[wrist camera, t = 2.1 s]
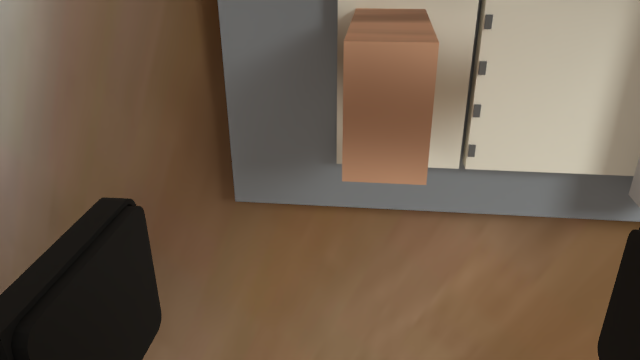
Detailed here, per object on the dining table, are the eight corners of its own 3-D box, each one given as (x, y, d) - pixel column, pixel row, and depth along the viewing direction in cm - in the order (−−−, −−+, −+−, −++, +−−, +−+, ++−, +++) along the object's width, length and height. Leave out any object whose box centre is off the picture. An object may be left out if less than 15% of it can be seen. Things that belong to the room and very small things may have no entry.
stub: (339, -55, 23) (318, -44, 16) (482, -56, 22) (524, -44, 15) (338, 157, 27) (320, 238, 20) (456, 162, 27) (480, 247, 20)
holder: (216, -130, 24) (177, -141, 19) (857, -142, 21) (981, -158, 17) (242, 188, 31) (217, 233, 26) (724, 212, 28) (786, 266, 24)
